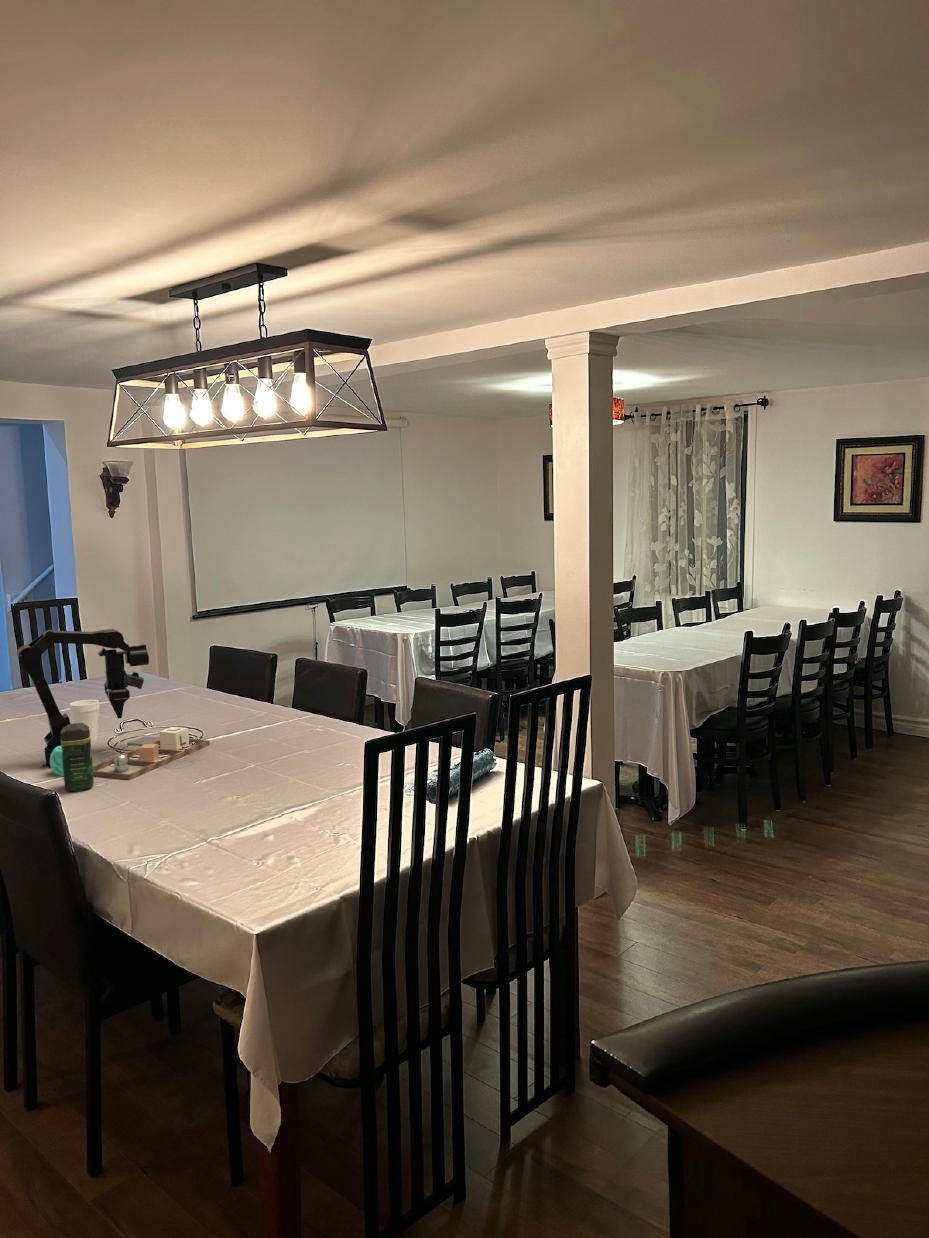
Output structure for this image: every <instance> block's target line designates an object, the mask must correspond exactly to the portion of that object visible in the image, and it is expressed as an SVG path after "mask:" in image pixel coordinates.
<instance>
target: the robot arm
mask: <svg viewBox="0 0 929 1238" xmlns="http://www.w3.org/2000/svg"><path fill="white" fill-rule="evenodd" d="M53 644H67V645H68V644H74V645H75V644H77V645H78V644H79V645H95V646H99V647H102V648H101V650H99V652H97V655H98V656H99V657H104V663H105V665H104V666H105V672H104V673H105V677H106V680H105V682H104V684H103V690H104V691H105V695H106V696H107V699H108V700H109V703H110V704H111V707H112V709H113V711H114V713H115V715H116V717H117V719H122V718H123V712H124V706H125V703H126V702H127V701H129V699H130V698H131V694H130V690H129V689H128V687H134V688H137V689H139V690H141V689H142V688H143V685H144V682H145V679H144V678H143V677H142V676H140V675H139V673H138V672H136V671H133V672H132V673H131V674H129V673H128V674H127V671H126V670H125V668H126V667H125V664H128V666H129V667H138V666H148V665H149V664H150V657H149V653H148V649H147V645H146V644H144V643H143V644H139V645H129V644H128V643H126V642H125V637H124V636H123V634H122V632H120V631H118V629H114V628H107V629H100V630H96V631H71V630H70V631H69V630H53V629H47V630H45V631H44V632H43V633H42V634H41V635H39V636H37V637H36V638H35V639H33V640H32V641H31V642H30V643H28V644H24V645H22V646H20V647H19V648H18V649H17V651H16V657H17V660H18V661H19V662H20V664H21V666H22V667H23V669H24V670H25V671H26V673H27V674H28V675H29V677H30V679H31V681H32V683H33V685H34V688H35V690H36V693H37V695H38V697H39V700H40V702H41V703H42V707H43V708H44V711H45V713H46V716H47V721H48V722H47V723H48V725H49V731H48V733H47V734H46V736H44V738H43V740H44V743H45V744H46V747H44V757H45V763H43V764H42V765H41V766H42V767H44V768H51V766H50V756H51V753H52V751H53V750H54V749H55V748H56V747H58V746H61V735H60V733H61V730H62V729H63V728H64V727H66V726H67V725H68V724H72V723H71V721H70V717H69V715H68V714H67V713H66V712H65V713H64V714H62V712H61V711H60V709H59V707H58V705H57V702H56V699H55V698H54V696H53V693H52V691H51V688H50V687H49V684H48V683H47V679H46V678H45V675H44V673H43V667H42V663H41V662H42V661H41V658H40V657H41V656H42V655H43V654H45V652H46V651H47V650H48V649H49V648H50V647H51V646H52V645H53ZM106 648H108V649H106ZM117 649H119V651H117Z"/></svg>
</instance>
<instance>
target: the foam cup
mask: <svg viewBox="0 0 929 1238" xmlns="http://www.w3.org/2000/svg"><path fill="white" fill-rule="evenodd" d="M99 701H100V700H98V699H82V700H77V701H72V702H70V703H69V709H70V712H71V717H72V720H73V724H74V723H83V724H85V725H87V726H89V730H90V739H91V741H94V740H97V739H98V733H99V732H98V731H99V728H98V727H99V713H100V711H99V710H100V702H99Z"/></svg>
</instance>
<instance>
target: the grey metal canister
mask: <svg viewBox="0 0 929 1238" xmlns="http://www.w3.org/2000/svg"><path fill="white" fill-rule="evenodd" d="M125 753H126V752H125ZM125 753H123V752H122V753H117V754H114V755H113V757H112V758H114V764H113V767H114V768H113V769H114V773H123V774H125V773H126V772H129V765H128V759H129V758H127V754H125Z"/></svg>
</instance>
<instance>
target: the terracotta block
mask: <svg viewBox="0 0 929 1238" xmlns="http://www.w3.org/2000/svg"><path fill="white" fill-rule="evenodd" d="M138 748H139V755H138V756H139V760H142V761H153V762H156V760H158V757H159V758H160V754H159V752H158V749H159V746H158V744H144V745H142V746H139V747H138Z"/></svg>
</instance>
